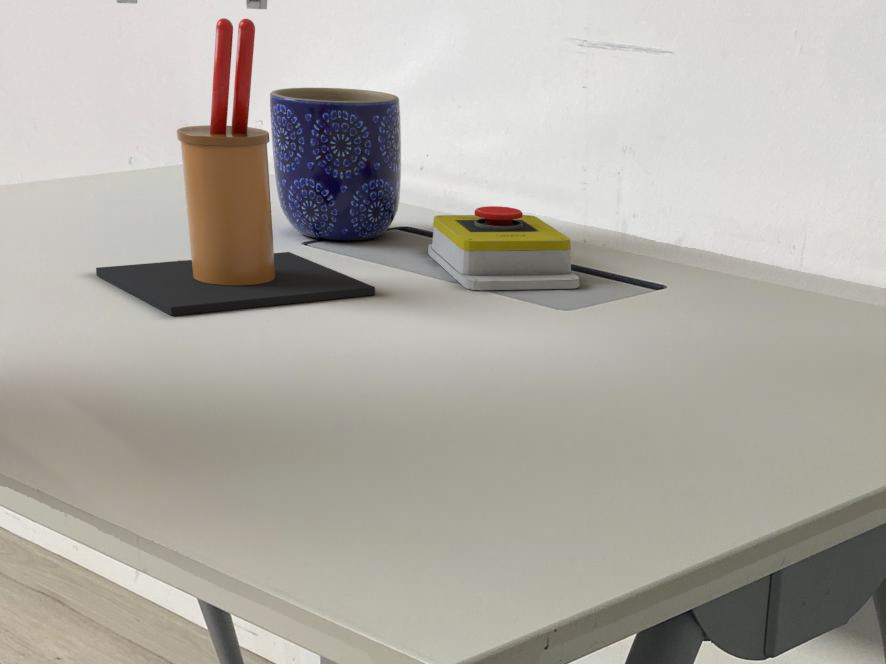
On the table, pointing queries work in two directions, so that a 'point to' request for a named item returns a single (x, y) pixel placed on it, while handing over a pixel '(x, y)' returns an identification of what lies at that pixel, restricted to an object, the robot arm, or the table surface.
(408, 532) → the table surface
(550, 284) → the emergency button
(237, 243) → the pliers tin
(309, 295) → the mat
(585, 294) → the table surface
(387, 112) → the planter
